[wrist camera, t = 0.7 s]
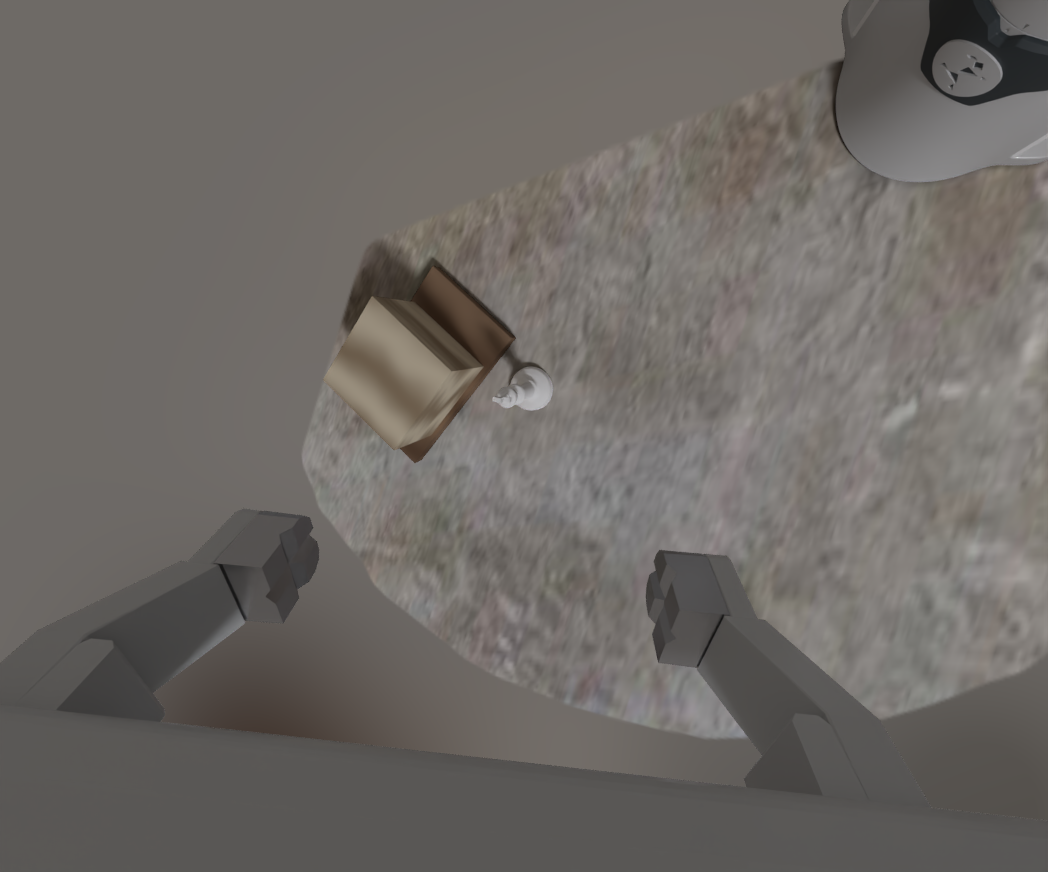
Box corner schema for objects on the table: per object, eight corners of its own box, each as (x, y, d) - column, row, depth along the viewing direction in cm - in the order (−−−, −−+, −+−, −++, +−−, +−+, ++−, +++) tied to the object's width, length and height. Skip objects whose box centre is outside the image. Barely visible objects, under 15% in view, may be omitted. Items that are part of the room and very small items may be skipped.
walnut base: (439, 267, 48) (391, 253, 40) (515, 338, 47) (482, 338, 39) (357, 396, 55) (302, 407, 47) (421, 459, 54) (376, 481, 46)
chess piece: (510, 366, 48) (472, 372, 39) (552, 366, 46) (524, 373, 37) (511, 409, 49) (474, 425, 40) (553, 411, 47) (524, 428, 38)
